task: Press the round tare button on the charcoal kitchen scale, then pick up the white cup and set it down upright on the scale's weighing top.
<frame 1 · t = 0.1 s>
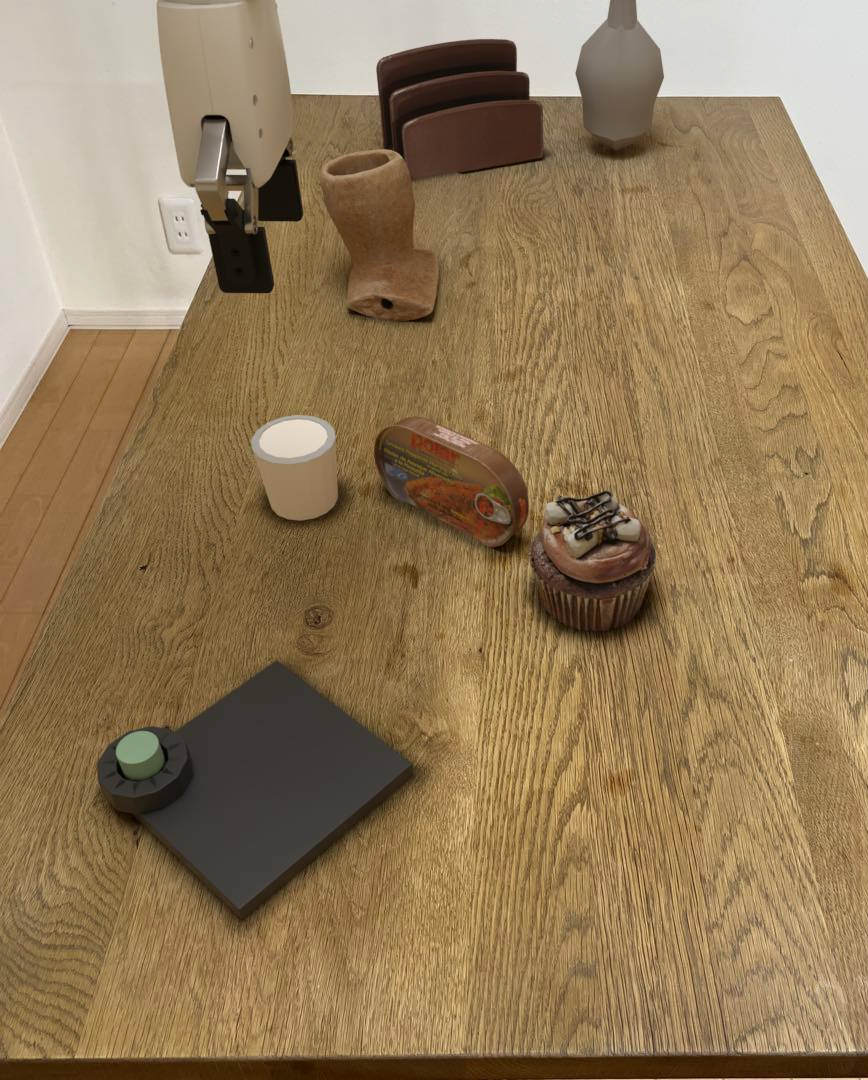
hand: (264, 253, 70), 28 cm above the table, tool pointing down, fingers open, 9 cm apart
letter holder: (463, 160, 152), on the table
scale: (263, 787, 73), on the table
bottle: (615, 152, 154), on the table
cupcake: (590, 601, 86), on the table
tare button: (140, 755, 70), point 4 cm above the table, slide at 0.1 cm
white cup: (305, 505, 95), on the table
clay boot vessel: (386, 295, 123), on the table
tin: (453, 520, 94), on the table
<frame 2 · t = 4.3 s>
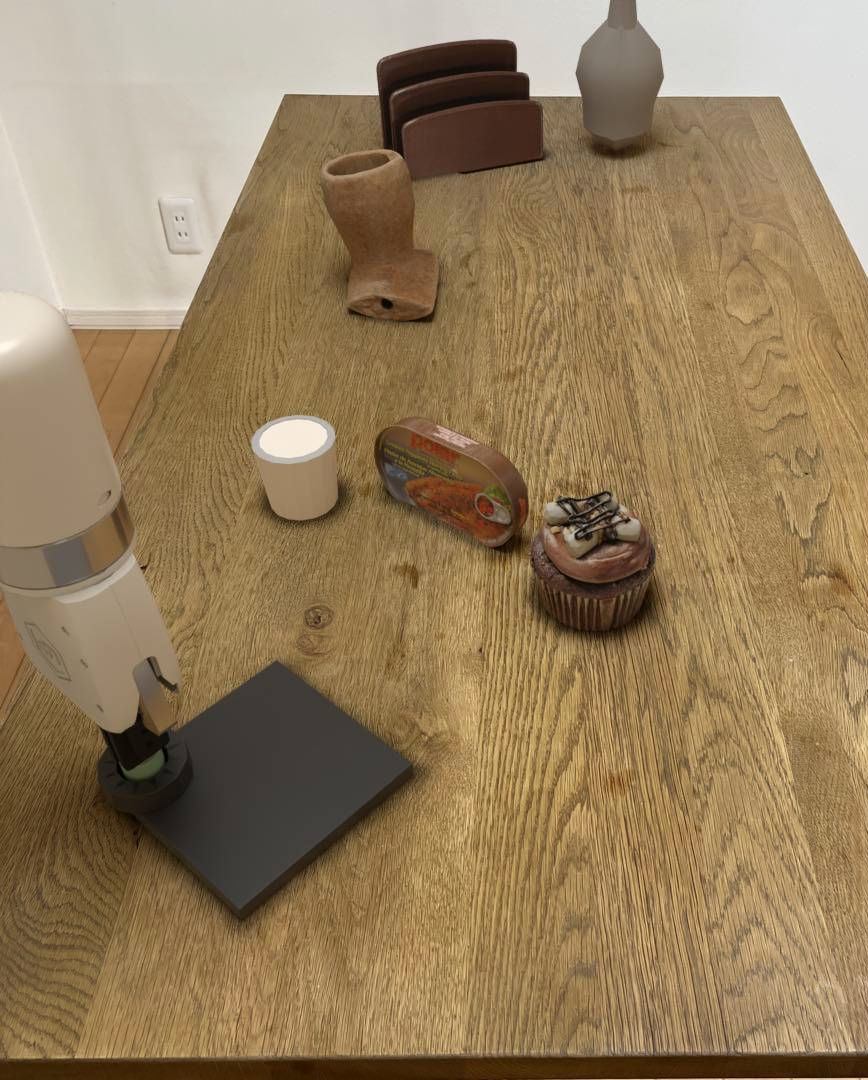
hand: (141, 750, 69), 5 cm above the table, tool pointing down, fingers closed
tare button: (141, 759, 70), point 4 cm above the table, slide at -0.2 cm, touching gripper
everything else where it was.
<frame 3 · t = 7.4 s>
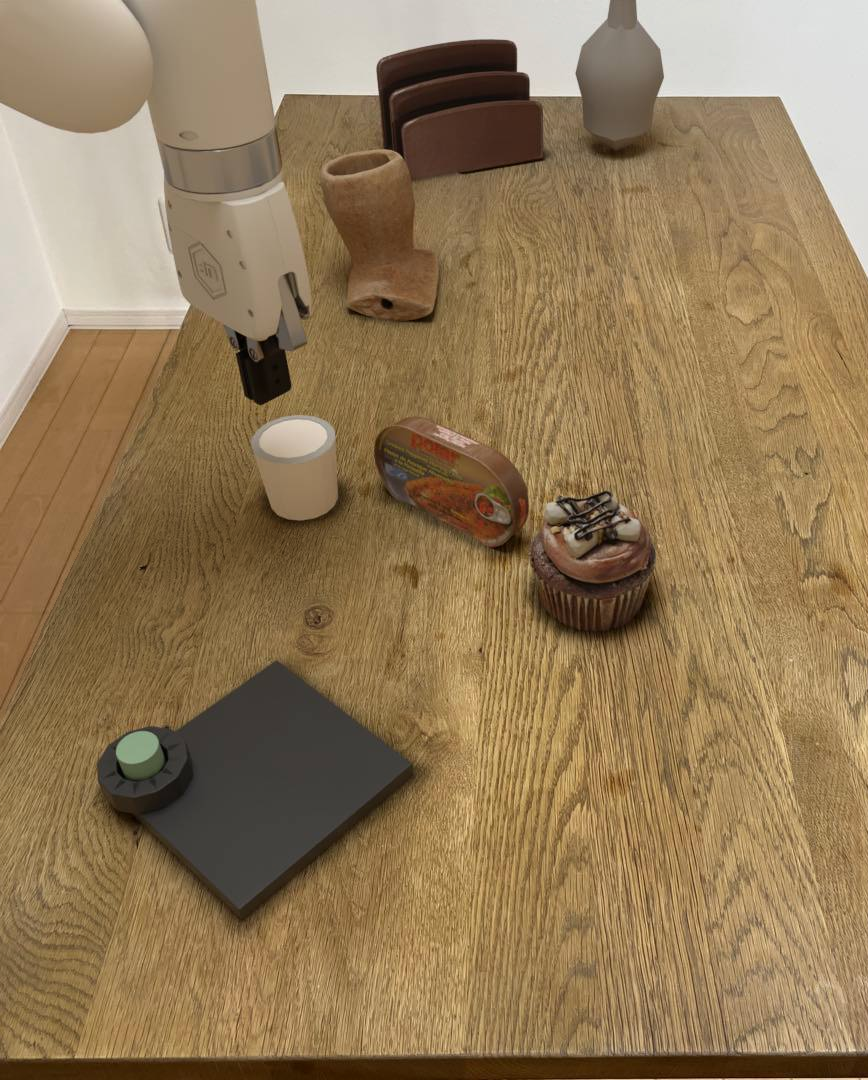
hand: (268, 393, 84), 14 cm above the table, tool pointing down, fingers closed
tare button: (140, 755, 70), point 4 cm above the table, slide at 0.1 cm
everything else where it was.
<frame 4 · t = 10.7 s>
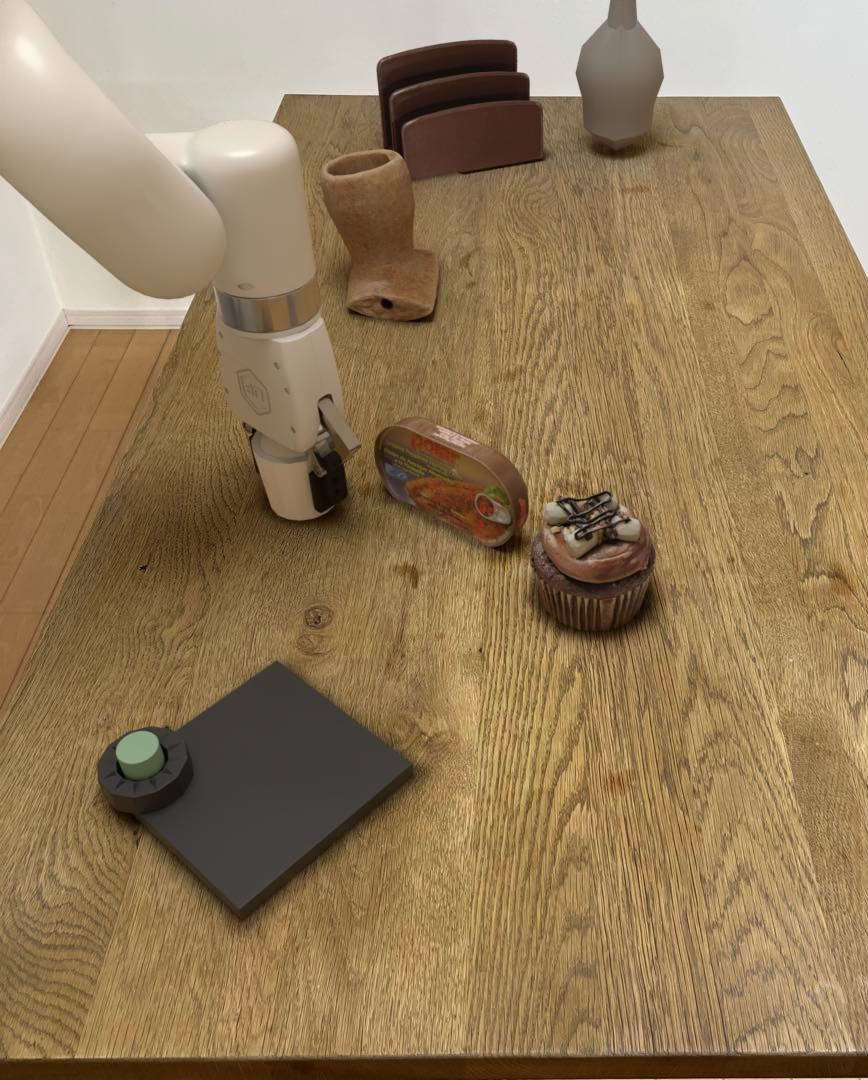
hand: (301, 484, 94), 2 cm above the table, tool pointing down, fingers closed on white cup, 6 cm apart
white cup: (305, 505, 95), on the table, touching gripper
everything else where it was.
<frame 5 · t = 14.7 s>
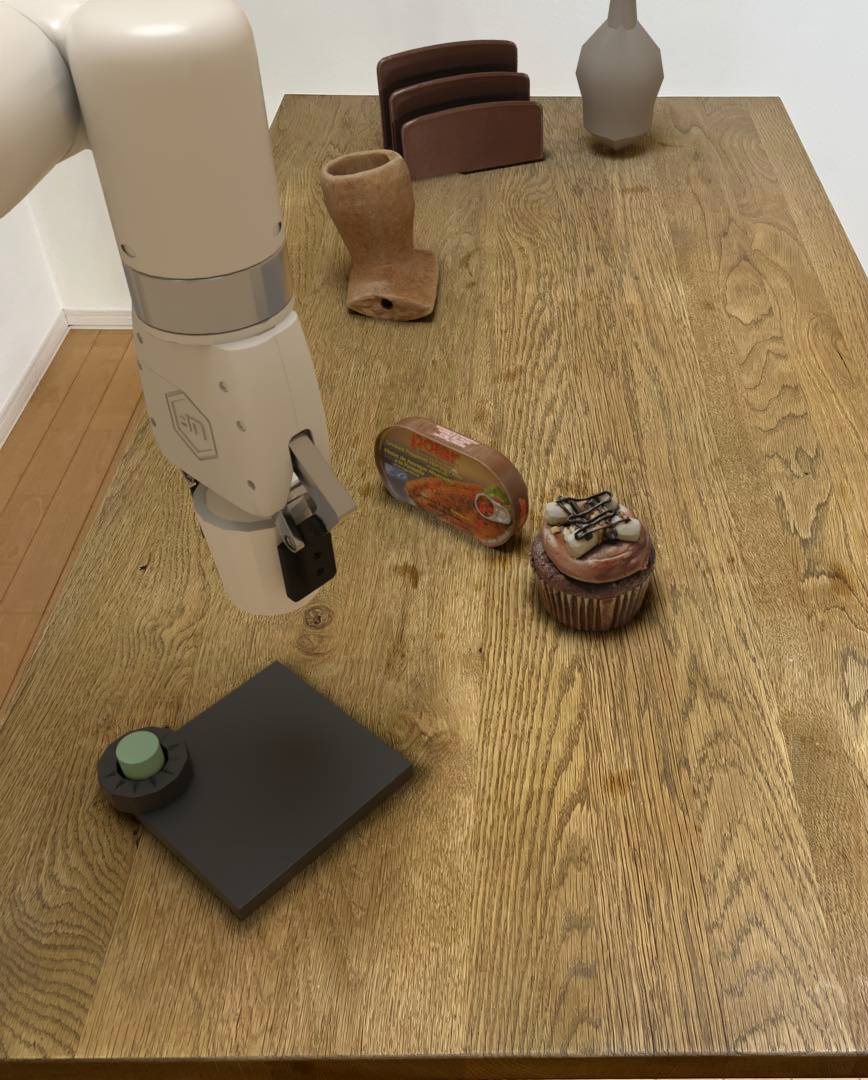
hand: (268, 555, 64), 17 cm above the table, tool pointing down, fingers closed on white cup, 6 cm apart
white cup: (275, 584, 66), point 15 cm above the table, touching gripper
everything else where it was.
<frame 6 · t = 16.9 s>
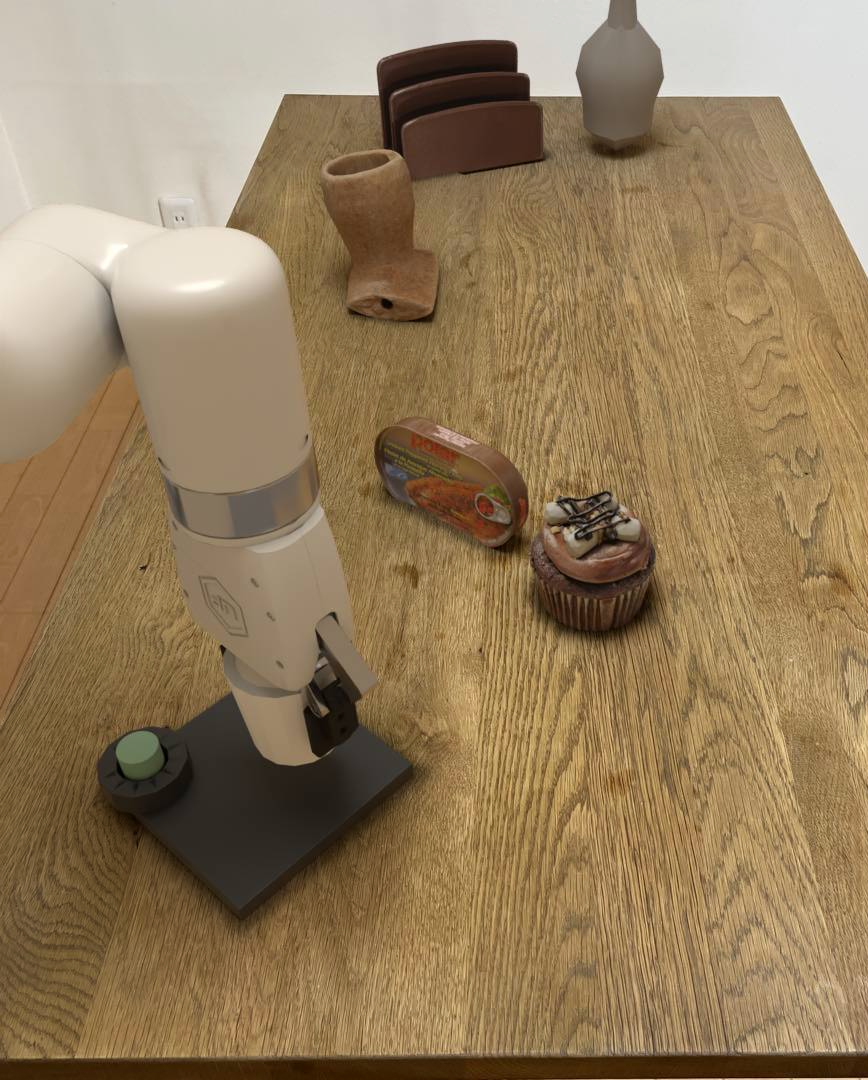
hand: (294, 707, 67), 8 cm above the table, tool pointing down, fingers closed on white cup, 6 cm apart
white cup: (300, 731, 69), point 6 cm above the table, touching gripper
everything else where it was.
when the fingers open (4 cm above the table, at t = 18.6 s): white cup stays where it is, resting on scale.
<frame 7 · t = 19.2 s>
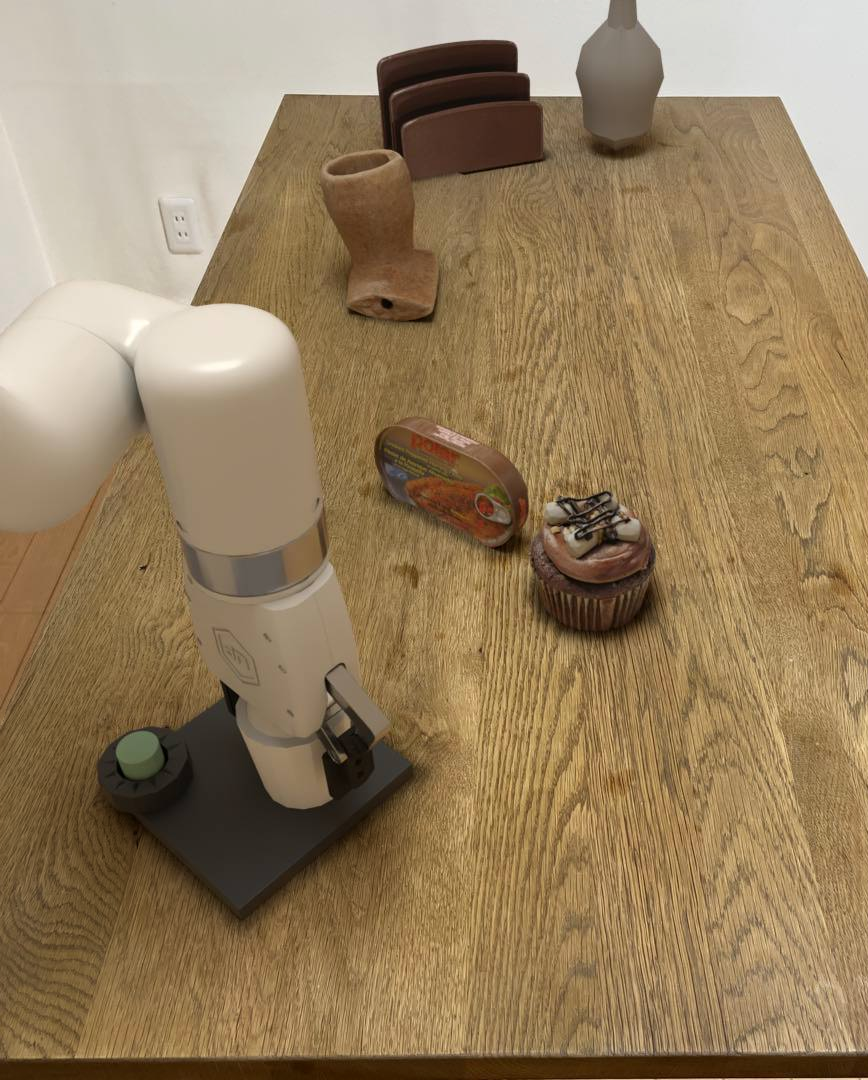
hand: (300, 741, 70), 5 cm above the table, tool pointing down, fingers open, 9 cm apart
white cup: (308, 774, 72), point 2 cm above the table, touching scale
everything else where it was.
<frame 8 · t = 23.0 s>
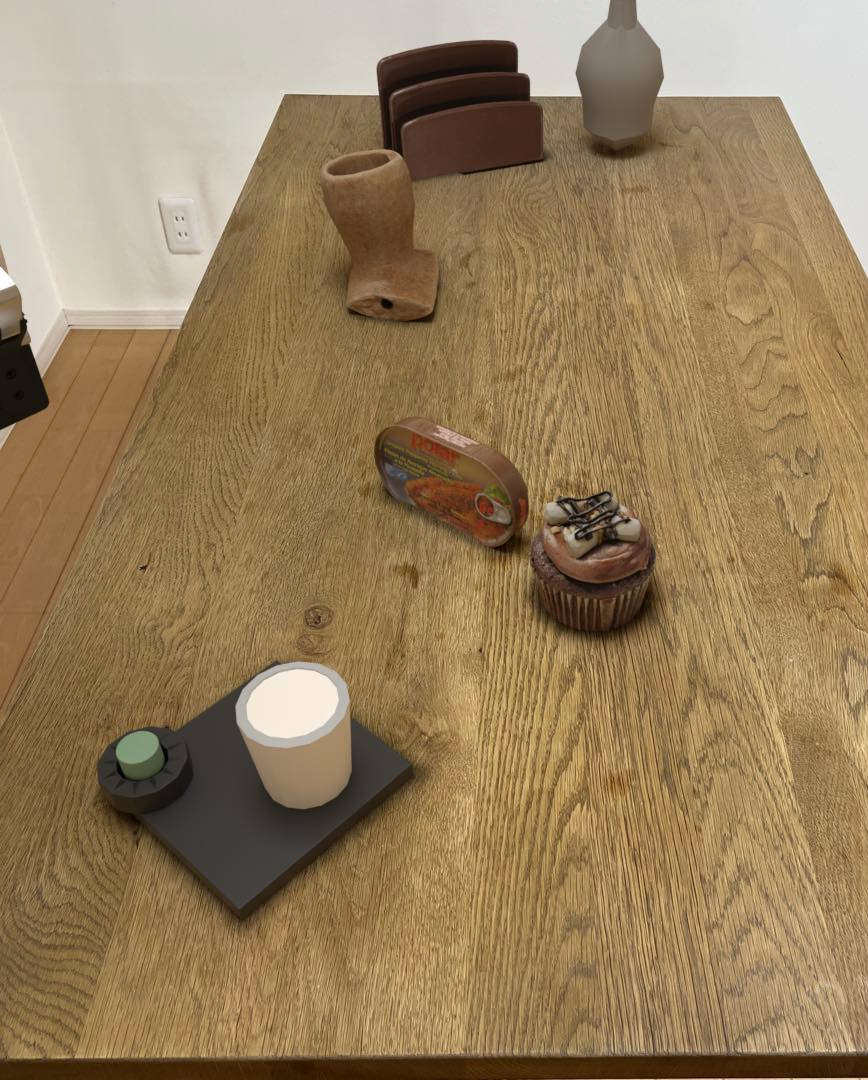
nothing on the table moved.
at the end: tare button pushed in 1.1 cm at the most during the clip, back to where it started at the end; white cup inside the target area on the scale (1.4 cm from its centre), point 1.5 cm above the scale's base; white cup tilted 0° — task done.
